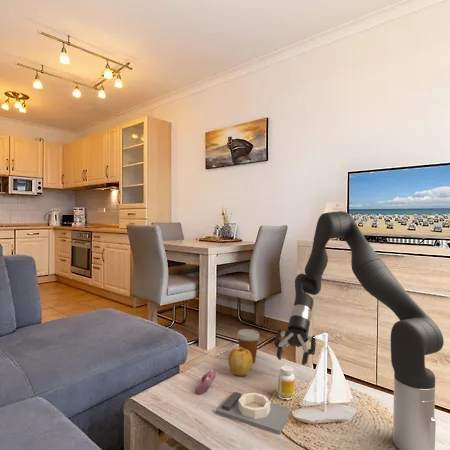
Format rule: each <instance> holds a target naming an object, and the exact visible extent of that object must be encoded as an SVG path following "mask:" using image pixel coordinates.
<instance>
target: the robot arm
mask: <svg viewBox="0 0 450 450" xmlns="http://www.w3.org/2000/svg"><path fill="white" fill-rule="evenodd" d="M341 238H342V239H343V240H344V241H345V242H346V243H347V245H348V247H349V248H350V252H351V253H350V254H351V271H352V273H353V274H354V276H355V278H356V279H357V280H358V282H359V284H360V285H361V286H362V288H363V289H364V290H365V291H366V292H367V293H368V294H369V295H370V296H372V297H374V298H375V299H376V300H377V301H379V302H380V303H382V304H383V305H384V306H386V307H387V308H389V309H390V310H391V311H392V312H393V313H394V314H395V316H396V317H397V318H398V321H396V322H395V323H394V324H393V326H392V328H391V330H390V331H391V332H390V361H391V367H392V370H393V372H394V375H393V377H394V379H393V413H392V415H393V416H392V417H393V418H392V442H393V441H394V442H395V444H396V445H397V447H396V448H397V449H398V450H436V423H437V422H436V417H435V410H436V409H435V405H436V403H435V402H436V376H435V374H434V372H433V370H431V369H429V368H427V367H426V363H425V361H426V359H425V356H427V355H432V354H436V353H438V352H440V351H441V350H442V349H443V346H444V337H443V333H442V332H441V329H440V328H439V326H438V324H437V323H436V322H435V321H434V320H433V319H432V318H431V317H430V316H429V314H427V313H426V312H425V311H424V309H423V308H422V307H420V306H419V304H418V303H417V302H416V301H415V300H414V299H413V298H412V296H410V294H409V292H408V291H407V290H406V289H405V288H404V286H403V285H402V284H401V283H400V282H399V280H398V279H397V278H396V276H395V275H394V274H393V273H392V271H391V270H390V269H389V267H388V266H387V264H386V263H385V262H384V260H383V259H382V258H381V257H380V256H379V255H378V254H377V252H376V251H375V250H374V248H373V246H371V244H370V243H369V241H368V240H367V239H366V237H365V235H364V234H363V232H362V231H361V229H360V227H359V226H358V224H357V222H356V221H355V219H354V217H353V216H352V215H351V214H350V213H348V212H347V211H343V210H342V211H341V210H340V211H329V212H324V213H322V214H321V215H320V216H319V217H318V220H317V223H316V226H315V231H314V237H313V242H312V248H311V251H310V252H311V253H310V254H309V258H308V260H307V263H306V265H305V267H304V273H299V274H297V275H296V277H295V279H294V289H295V299H294V303H293V307H292V310H291V313H290V317H289V320H288V325H287V329H286V331H282V330H281V329H278V330H277V332H276V335H275V339H274V342H273V344H274V346H275V348H277V352H276V358H277V359H278V360H279V361H281V360H282V357H283V353H284V349H285V348H286V347H289V346H292V347H297V348H300V347H301V348H302V350H303V356H302V359H301V365H302V366H306V365H307V364H308V360H309V356H310V355H312V356H315V353H316V346H317V345H316V344H317V339H315V338H316V335H312V336H311V335H310V336H309V330H310V326H311V321H312V312H313V306H314V298H313V297H312V296H317V295H318V294H319V293H320V292H321V289H322V278H323V275H324V272H325V269H327V266H328V262H329V258H328V257H329V256H328V253H327V250H326V246H327V243H328V242H329V241H330V240H331V239H333V240H334V239H341ZM284 336H285V338H284V339H283V340H282V338H283V337H284ZM313 337H315V338H313ZM308 341H309V343H310V348H309V349H308V348H307V345H306V343H307V342H308ZM394 442H393V443H394ZM395 444H394V445H395ZM396 445H395V446H396Z"/></svg>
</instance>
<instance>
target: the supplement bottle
mask: <svg viewBox="0 0 450 450" xmlns="http://www.w3.org/2000/svg"><path fill="white" fill-rule="evenodd" d="M277 378H278V380H277V383H278V385H277V386H278V387H277V396H278V395H279V396H280V397H282V398H291V397H293V396H294V397H295V391H296V390H295V389H296V388H295V386H296V385H295V384H296V383H295V382H296V377H295V374H294V368H293V367H292V366H290V365H282V366H281V367H280V373H278V377H277ZM279 396H278V397H279Z"/></svg>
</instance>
